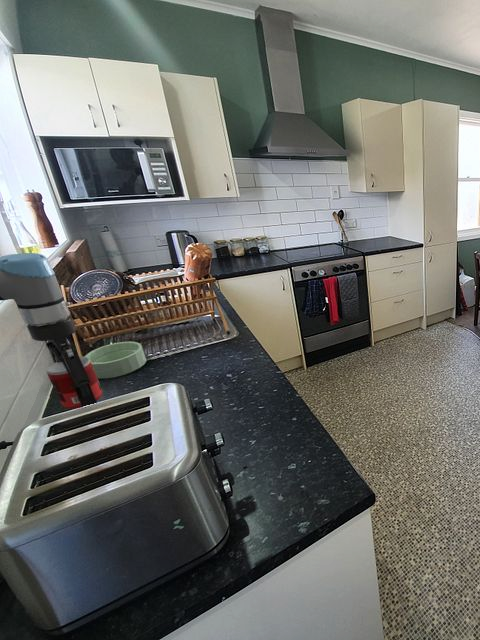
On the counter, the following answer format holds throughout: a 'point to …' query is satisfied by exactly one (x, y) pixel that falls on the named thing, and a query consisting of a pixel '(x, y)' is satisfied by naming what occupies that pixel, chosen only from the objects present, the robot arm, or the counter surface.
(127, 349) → the bowl
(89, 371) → the canned food
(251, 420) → the counter surface
